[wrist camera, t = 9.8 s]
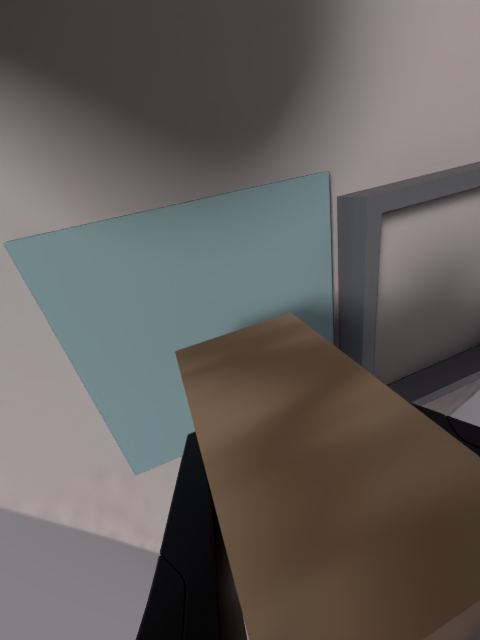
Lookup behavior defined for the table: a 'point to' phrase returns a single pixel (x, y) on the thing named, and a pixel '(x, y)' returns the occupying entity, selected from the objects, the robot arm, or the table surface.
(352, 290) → the gray rectangular frame
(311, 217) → the rubber mat
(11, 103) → the table surface
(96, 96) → the table surface
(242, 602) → the walnut plug block
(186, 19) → the table surface
